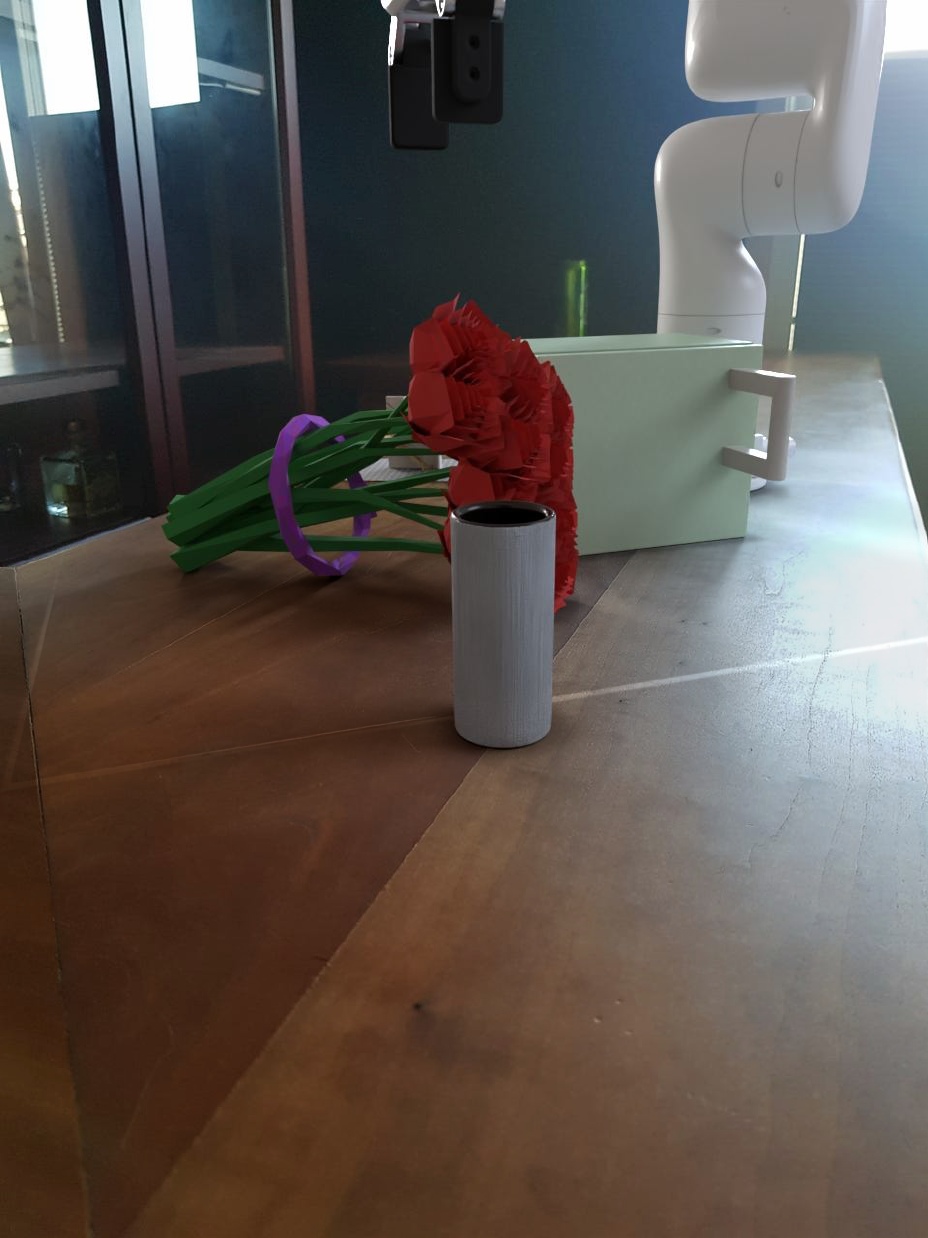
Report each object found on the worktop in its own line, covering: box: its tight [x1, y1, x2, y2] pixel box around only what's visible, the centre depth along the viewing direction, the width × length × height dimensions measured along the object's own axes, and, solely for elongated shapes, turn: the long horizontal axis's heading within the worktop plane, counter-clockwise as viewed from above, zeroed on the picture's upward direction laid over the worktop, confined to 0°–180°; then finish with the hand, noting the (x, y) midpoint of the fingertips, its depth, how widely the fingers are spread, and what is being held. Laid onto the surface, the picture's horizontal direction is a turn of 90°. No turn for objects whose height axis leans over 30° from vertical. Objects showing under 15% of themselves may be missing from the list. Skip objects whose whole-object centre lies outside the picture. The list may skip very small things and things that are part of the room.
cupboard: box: [512, 333, 754, 355], centre depth 74 cm, size 11×18×15 cm, turn 108°
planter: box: [450, 500, 556, 749], centre depth 42 cm, size 4×4×10 cm
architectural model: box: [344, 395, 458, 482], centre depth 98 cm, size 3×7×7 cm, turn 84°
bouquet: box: [161, 292, 580, 615], centre depth 62 cm, size 20×16×30 cm
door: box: [535, 344, 797, 557], centre depth 66 cm, size 7×18×14 cm, turn 108°
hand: (441, 137), depth 48 cm, fingers open, 9 cm apart
